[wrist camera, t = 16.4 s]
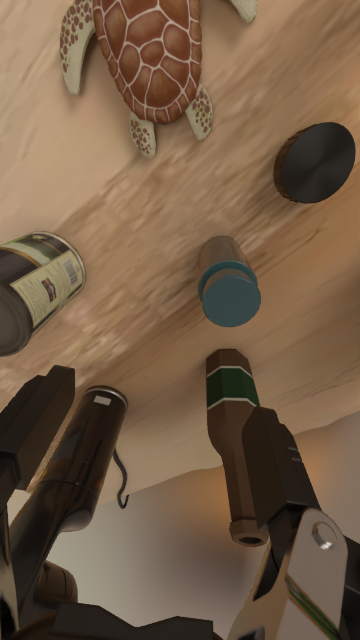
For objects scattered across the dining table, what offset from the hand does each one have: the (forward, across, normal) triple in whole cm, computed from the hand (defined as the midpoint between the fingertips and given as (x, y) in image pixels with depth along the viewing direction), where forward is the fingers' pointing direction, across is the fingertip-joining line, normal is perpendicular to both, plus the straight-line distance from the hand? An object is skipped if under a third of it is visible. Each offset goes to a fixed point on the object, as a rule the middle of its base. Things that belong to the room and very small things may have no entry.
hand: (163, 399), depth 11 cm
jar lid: (+25, -11, -12) cm, 30 cm away
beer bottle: (+26, -12, +18) cm, 33 cm away
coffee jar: (+25, -5, 0) cm, 26 cm away
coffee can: (+26, +18, +7) cm, 33 cm away
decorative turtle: (+25, +7, -18) cm, 32 cm away
